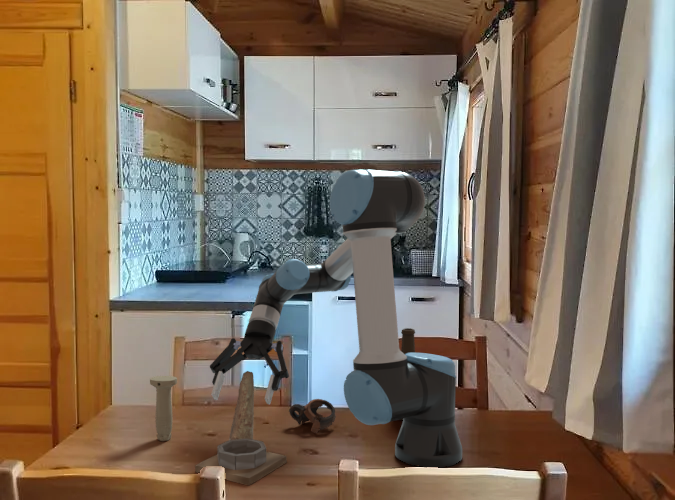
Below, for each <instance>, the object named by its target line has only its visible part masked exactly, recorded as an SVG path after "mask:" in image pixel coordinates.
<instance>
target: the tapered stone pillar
mask: <svg viewBox="0 0 675 500" xmlns="http://www.w3.org/2000/svg"><path fill="white" fill-rule="evenodd" d="M254 381H255V380H254V372H252V371H249V370H246V371H244V372H243V374H242V375H241V380H240V382H239V388H238V397H237V403H236V406H235V408H234V409H235V410H234V414H233V420H232V423H231V428H230V434H229V440H235V439H246V438H247V439H248V438H249V439H254V418H255V417H254V414H255V412H254V411H255V410H254V406H255V404H254V403H255V400H254V399H255V385H254V383H255V382H254Z"/></svg>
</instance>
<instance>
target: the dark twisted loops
mask: <svg viewBox="0 0 675 500" xmlns="http://www.w3.org/2000/svg"><path fill="white" fill-rule="evenodd" d="M323 406H324V407H325V406H326V409H328V410H330V412H331V413H330V415H329V416H324V415H323V414H322V413H319V412H318V411H317V410H318V409H319V408H321V407H323ZM288 412H289V415H290V416H291V418H292V419H293V420H295V421H296V422H297V424H298V425H300V426H301V425H304V424H305V423H306V422H311V423H312V426H311V429H310V431H311V432H312V433H314V434H318V432H320V430H321V431H322V430H324V429H326V428H329V427H331V426H332V425H333V423H335V421H336V417H337V416H336V408H335V407H334V405H333V404H332V403H331V402H330V401H328V400H327V399H322V398H321V399H320V398H314V399H311V400H310V401H309V402H308V403H306V405H305V404H304V405H302V404H300V403H294V404H292V405H291V406H290V408H289V410H288Z"/></svg>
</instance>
